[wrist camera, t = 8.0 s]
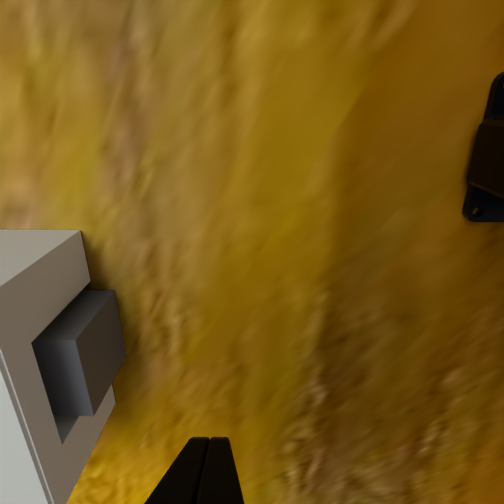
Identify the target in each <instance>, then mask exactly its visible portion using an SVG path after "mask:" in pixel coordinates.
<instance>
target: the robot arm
mask: <svg viewBox="0 0 504 504" xmlns="http://www.w3.org/2000/svg"><path fill="white" fill-rule="evenodd" d="M467 180H468V181H469V186H468V191H467V195H466V199H465V203H464V208H463V214H464V216H465V217H466V218H467V219H469V220H471V221H473V222H504V72H502V73H500V74H499V75H497V77H496V78H495V79H494V81H493V83H492V87H491V91H490V96H489V100H488V104H487V109H486V113H485V117H484V121H483V122H482V123H481V124H480V125H479V129H478V133H477V138H476V142H475V146H474V151H473V155H472V160H471V164H470V168H469V173H468V177H467ZM476 207H479V211H478V212H477V213H476V214H473V210H474V209H475V208H476ZM144 504H244V500H243V495H242V491H241V487H240V483H239V479H238V474H237V470H236V466H235V462H234V458H233V453H232V449H231V445H230V441H229V439H228V438H227V437H212V438H211V439H209V438H208V437H192V438H191V439H189V441H188V442H187V444H186V445H185V446H184V448H183V449H182V451H181V452H180V453H179V455H178V456H177V458H176V459H175V461H174V462H173V463H172V465H171V466H170V468H169V469H168V471H167V472H166V473H165V475H164V476H163V478H162V479H161V480H160V482H159V483H158V485H157V486H156V488H155V489H154V490H153V492H152V493H151V495H150V496H149V498H148V499H147V500H146V502H145V503H144Z"/></svg>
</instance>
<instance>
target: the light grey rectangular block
mask: <svg viewBox="0 0 504 504" xmlns="http://www.w3.org/2000/svg"><path fill="white" fill-rule="evenodd" d="M89 282H90V276H89V271H88V266H87V261H86V256H85V251H84V247H83V242H82V237H81V232H80V230H0V504H66V503H67V501H68V499H69V497H70V495H71V493H72V491H73V489H74V487H75V485H76V483H77V481H78V479H79V477H80V475H81V473H82V471H83V469H84V467H85V465H86V463H87V460H88V458H89V456H90V454H91V452H92V450H93V448H94V446H95V444H96V442H97V440H98V438H99V436H100V434H101V432H102V430H103V428H104V426H105V424H106V422H107V420H108V418H109V416H110V414H111V412H112V410H113V408H114V406H115V404H116V402H115V397H114V392H113V387H112V384H111V386H110V388H109V389H108V391H107V393H106V395H105V397H104V399H103V401H102V402H101V404H100V406H99V408H98V410H97V412H96V413H95V415H94V416H65V415H53V414H52V411H51V407H50V404H49V401H48V397H47V394H46V391H45V387H44V384H43V381H42V377H41V374H40V371H39V368H38V364H37V361H36V358H35V354H34V351H33V348H32V344H31V342H32V341H33V340H34V339H35V338H36V337H37V336H38V335H39V334H40V333H41V332H42V331H43V330H44V329H45V328H46V327H47V326H48V325H49V324H50V323H51V322H52V321H53V320H54V319H55V317H56V316H57V315H58V314H59V313H60V312H61V311H62V310H63V309H64V308H65V307H66V306H67V305H68V304H69V303H70V302H71V301H72V300H73V299H74V298H75V297H76V296H77V295H78V294H79V293H80V292H81V290H82V289H83V288H84V287H85V286H86V285H87V284H88V283H89Z"/></svg>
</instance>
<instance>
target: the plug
mask: <svg viewBox="0 0 504 504" xmlns="http://www.w3.org/2000/svg"><path fill="white" fill-rule="evenodd" d="M31 344H32V348H33V351H34V354H35V358H36V361H37V364H38V368H39V371H40V374H41V377H42V381H43V384H44V387H45V391H46V394H47V397H48V401H49V404H50V407H51V411H52V414H53V415H65V416H94V415H95V413H96V412H97V410H98V408H99V406H100V404H101V402H102V401H103V399H104V397H105V395H106V393H107V391H108V389H109V388H110V386H111V384H112V382H113V380H114V378H115V377H116V375H117V373H118V371H119V369H120V367H121V366H122V364H123V362H124V360H125V358H126V350H125V345H124V339H123V334H122V328H121V323H120V317H119V312H118V306H117V300H116V295H115V290H81V292H80V293H79V294H78V295H77V296H76V297H75V298H74V299H73V300H72V301H71V302H70V303H69V304H68V305H67V306H66V307H65V308H64V309H63V310H62V311H61V312H60V313H59V314H58V315H57V316H56V317H55V319H54V320H53V321H52V322H51V323H50V324H49V325H48V326H47V327H46V328H45V329H44V330H43V331H42V332H41V333H40V334H39V335H38V336H37V337H36V338H35V339H34V340H33V341H32V342H31Z"/></svg>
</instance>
